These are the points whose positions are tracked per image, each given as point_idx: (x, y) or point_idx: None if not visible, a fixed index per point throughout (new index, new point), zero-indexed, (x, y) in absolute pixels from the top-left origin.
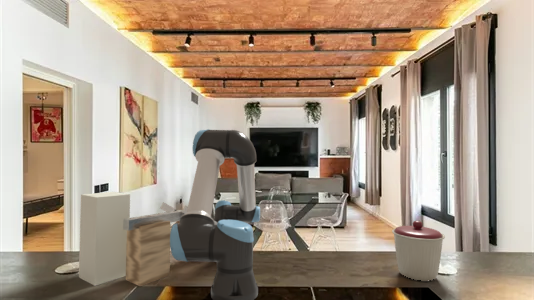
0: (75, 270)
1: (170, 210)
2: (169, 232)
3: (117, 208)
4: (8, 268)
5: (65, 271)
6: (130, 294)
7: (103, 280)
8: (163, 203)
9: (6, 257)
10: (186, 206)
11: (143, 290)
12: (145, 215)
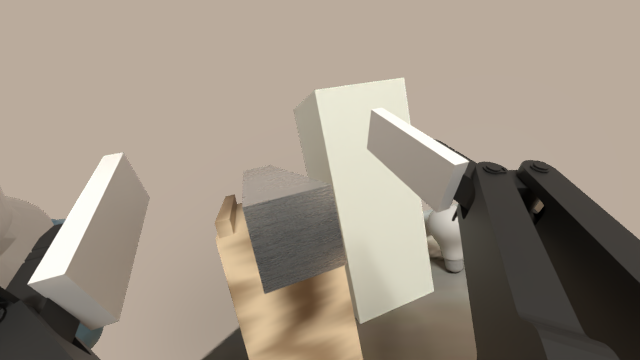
0: (430, 250)
1: (416, 172)
2: (226, 274)
3: (311, 135)
4: (457, 205)
5: (428, 242)
6: (239, 329)
7: None
8: (371, 116)
9: None
10: (103, 160)
11: (234, 353)
12: (277, 168)
